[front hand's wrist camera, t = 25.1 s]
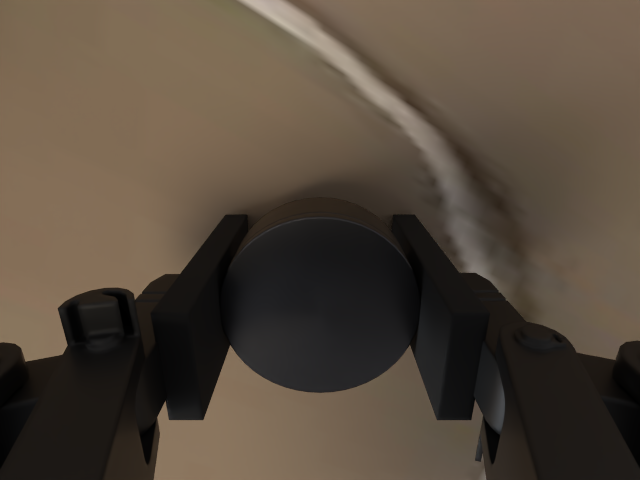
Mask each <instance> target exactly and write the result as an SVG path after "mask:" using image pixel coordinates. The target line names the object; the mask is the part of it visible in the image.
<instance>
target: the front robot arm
mask: <svg viewBox="0 0 640 480" xmlns="http://www.w3.org/2000/svg"><path fill="white" fill-rule="evenodd" d="M247 233H248V220H247V215H225V216H224V218H223V219H222V220H221V222H220V223H219V224H218V225H217V227H216V228H215V229H214V231H213V232H212V233H211V235H210V236H209V237H208V238H207V240H206V241H205V242H204V244H203V245H202V246H201V248H200V249H199V250H198V251H197V253H196V254H195V255H194V257H193V258H192V259H191V261H190V262H189V263H188V265H187V266H186V267H185V268H184V270H183V271H182V272H181V274H165V275H163V276H161V277H159V278H158V279H156V280H154V281H152V282H151V283H150V284H149V285H148V286H147V287H146V288H145V289H144V291H143V292H142V294H140V295H139V296H138V297H137V298H136V300H135V299H134V294H133V293H132V292H131V291H129V290H127V289H122V288H102V289H97V290H92V291H88V292H85V293H82V294H79V295H76V296H75V297H73V298H71V299H69V300H67V301H65V302H64V303H63V304H62V305H61V306H60V307H59V308H58V311H59V315H60V318H61V322H62V326H63V329H64V333H65V337H66V340H67V344H68V346H67V348H66V350H65V352H64V353H63V355H59V356H54V357H49V358H44V359H38V360H33V361H28V362H25V359H24V356H23V353H22V350H21V348H20V347H19V346H17V345H16V344H12V343H0V480H154V473H155V466H156V458H157V451H158V444H159V436H160V432H159V425H158V420H157V416H158V414H159V412H160V410H161V408H162V406H163V404H164V402H165V400H166V405H167V411H168V416H169V420H203V419H204V417H205V414H206V411H207V408H208V405H209V403H210V400H211V397H212V394H213V391H214V389H215V386H216V383H217V380H218V377H219V375H220V372H221V369H222V366H223V363H224V361H225V358H226V355H227V352H228V349H229V347H230V343H229V341H228V339H227V337H226V335H225V332H224V329H223V326H222V322H221V314H220V304H219V299H220V290H221V286H222V283H223V279H224V276H225V274H226V272H227V270H228V267H229V265H230V263H231V262H232V259H233V258H234V256H235V254H236V252H237V250H238V248H239V246H240V244H241V242H242V240H243V239H244V237H245V236H246V234H247ZM392 233H393V234H394V236H395V237H396V239H397V240H398V242H399V244H400V246H401V248H402V250H403V252H404V254H405V256H406V257H407V259H408V261H409V263H410V265H411V267H412V269H413V272H414V274H415V276H416V279H417V282H418V286H419V290H420V298H421V306H420V317H419V323H418V326H417V329H416V332H415V335H414V337H413V339H412V341H411V343H410V346H411V348H412V351H413V354H414V357H415V360H416V362H417V365H418V368H419V371H420V374H421V376H422V379H423V382H424V385H425V388H426V390H427V393H428V396H429V399H430V402H431V404H432V407H433V410H434V413H435V416H436V418H437V420H471V419H472V413H473V407H474V402H475V400H476V402H477V404H478V406H479V408H480V410H481V412H482V413H483V420H482V425H481V430H480V436H479V441H478V446H477V451H476V458H475V461H480V462H481V458H482V453H483V457H484V465H485V472H486V479H487V480H640V341H631V342H625V343H624V344H623V345H621V346H620V348H619V351H618V354H617V357H616V360H612V359H607V358H601V357H596V356H590V355H585V354H580V353H576V351H575V349H574V347H573V345H572V344H571V343H570V342H569V341H568V340H567V338H566V337H564V336H563V335H561V334H560V333H558V332H557V331H555V330H553V329H550V328H548V327H545V326H543V325H539V324H534V323H530V322H526V321H525V320H524V319H523V317H522V316H521V315H520V314H519V313H518V312H517V311H516V310H515V309H514V307H513V306H512V305H511V304H510V303H509V302H508V301H506V299H505V297H504V296H503V295H502V294H501V293H499V292H498V290H497V288H496V287H495V286H494V285H493V284H492V283H491V282H490V281H489V280H487V279H485V278H483V277H482V276H480V275H478V274H476V273H459V272H458V271H457V269H456V268H455V267H454V265H453V264H452V263H451V261H450V260H449V259H448V258H447V256H446V255H445V254H444V252H443V251H442V250H441V248H440V247H439V246H438V245H437V243H436V242H435V241H434V239H433V238H432V237H431V235H430V234H429V233H428V232H427V230H426V229H425V228H424V226H423V225H422V224H421V222H420V221H419V220H418V219H417V217H416V216H415V215H393V225H392Z"/></svg>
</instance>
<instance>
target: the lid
mask: <svg viewBox="0 0 640 480" xmlns="http://www.w3.org/2000/svg"><path fill="white" fill-rule="evenodd" d="M219 304H220V314H221V322H222V326H223V329H224V332H225V335H226V337H227V339H228V341H229V343H230V345H231V346H232V348H233V349H234V351H235V352H236V354H237V355H238V356H239V357H240V358H241V360H242V361H243V362H244V363H245V364H246V365H247V366H249V367H250V368H251V369H252V370H253V371H255V372H256V373H258V374H259V375H261V376H262V377H263V378H265V379H267V380H269V381H271V382H273V383H275V384H278V385H281V386H283V387H286V388H290V389H294V390H298V391H305V392H317V393H323V392H335V391H342V390H346V389H350V388H354V387H357V386H359V385H362V384H364V383H367V382H369V381H371V380H373V379H374V378H376V377H378V376H380V375H381V374H382V373H384V372H385V371H387V370H388V369H389V368H390V367H391V366H393V365H394V364H395V363H396V362H397V361H398V360H399V358H400V357H401V356H402V355H403V354H404V352H405V351H406V349H407V348H408V346H409V345H410V343H411V341H412V339H413V337H414V335H415V332H416V329H417V326H418V323H419V317H420V306H421V298H420V290H419V286H418V282H417V279H416V276H415V274H414V272H413V269H412V267H411V265H410V263H409V261H408V259H407V257H406V256H405V254H404V252H403V250H402V248H401V246H400V244H399V242H398V240H397V239H396V237H395V236H394V234H393V233H392V231H391V230H390V229H389V228H388V227H387V226H386V224H385V223H384V222H382V221H381V220H380V219H379V218H378V217H377V216H375V215H374V214H372V213H371V212H369V211H368V210H366V209H364V208H362V207H360V206H358V205H356V204H353V203H350V202H347V201H344V200H339V199H333V198H320V197H319V198H306V199H301V200H296V201H293V202H290V203H287V204H284V205H282V206H280V207H278V208H276V209H274V210H272V211H271V212H269V213H268V214H266V215H265V216H263V217H262V218H261V219H260V220H259V221H258V222H256V223H255V224H254V225H253V227H252V228H251V229H250V230H249V231H248V233H247V234H246V236H245V237H244V239H243V240H242V242H241V244H240V246H239V248H238V250H237V252H236V254H235V256H234V258H233V259H232V262H231V263H230V265H229V267H228V270H227V272H226V274H225V276H224V279H223V283H222V286H221V290H220V299H219Z"/></svg>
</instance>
